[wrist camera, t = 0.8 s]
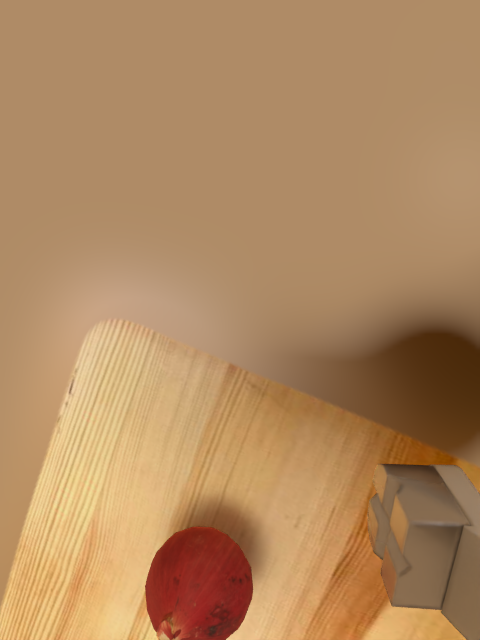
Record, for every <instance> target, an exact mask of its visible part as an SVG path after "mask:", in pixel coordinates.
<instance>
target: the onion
mask: <svg viewBox="0 0 480 640" xmlns="http://www.w3.org/2000/svg"><path fill="white" fill-rule="evenodd" d="M145 590H146V602H147V611H148V614H149V616H150V619H151V622H152V625H153V627H154V630H155V631H156V632H157V638H158V639H159V640H226V639H227V638H228V637H229V636H230V635H231V634H233V633H234V632H235V631H236V630H237V629H238V628H239V627H240V625H241V623H242V622H243V620H244V618H245V615H246V613H247V610H248V607H249V605H250V602H251V600H252V593H253V583H252V573H251V567H250V565H249V563H248V561H247V559H246V558H245V556H244V554H243V552H242V550H241V549H240V547H239V545H237V544H236V543H235V542H234V541H233V540H232V539H231V538H230V537H229V536H228V535H227V534H225V533H223V532H221V531H219V530H217V529H215V528H211V527H190V528H187V529H185V530H182V531H179V532H176V533H175V534H174V535H172V536H171V537H170V538H169V539H168V540H167V541H166V542H165V543H164V545H163V546H162V547H161V548H160V549H159V550H158V551H157V553H156V555H155V557H154V559H153V561H152V564H151V567H150V570H149V573H148V577H147V581H146V585H145Z"/></svg>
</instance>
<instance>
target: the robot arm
mask: <svg viewBox="0 0 480 640" xmlns="http://www.w3.org/2000/svg"><path fill="white" fill-rule="evenodd" d="M373 483H374V486H375V488H376V491H377V494H375V495H374V496H373V497H372V498H371V499H370V500H369V508H368V532H369V537H370V542H371V545H372V548H373V551H374V553H375V554H376V555H377V556H379V557H380V558H381V559H382V560H383V562H382V568H381V576H382V579H383V582H384V584H385V587H386V590H387V593H388V596H389V599H390V602H391V605H392V606H394V607H408V608H421V609H435V610H442V611H441V613H442V614H443V615H444V616H445V617H446V618H447V619H448V620H449V621H450V622H451V623H452V625H453V626H454V627H455V628H456V629H457V630H458V631H459V632H460V633H461V634H462V635H463V636H464V637H465V638H466V639H467V640H480V494H479V492H478V491H477V490H476V488H475V487H474V485H473V484H472V483H471V481H470V480H469V478H468V477H467V476H466V474H465V473H464V472H463V470H462V469H461V468H460V467H458V466H456V465H429V466H428V465H400V464H377V467H376V469H375V472H374V477H373Z"/></svg>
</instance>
